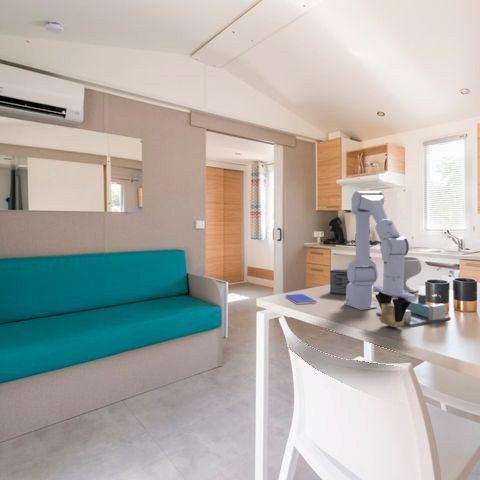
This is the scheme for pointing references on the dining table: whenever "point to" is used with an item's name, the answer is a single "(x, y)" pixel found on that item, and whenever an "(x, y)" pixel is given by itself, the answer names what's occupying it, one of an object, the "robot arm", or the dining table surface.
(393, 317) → the block
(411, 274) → the chalice
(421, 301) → the ram
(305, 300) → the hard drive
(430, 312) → the press
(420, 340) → the dining table surface
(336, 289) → the small box
